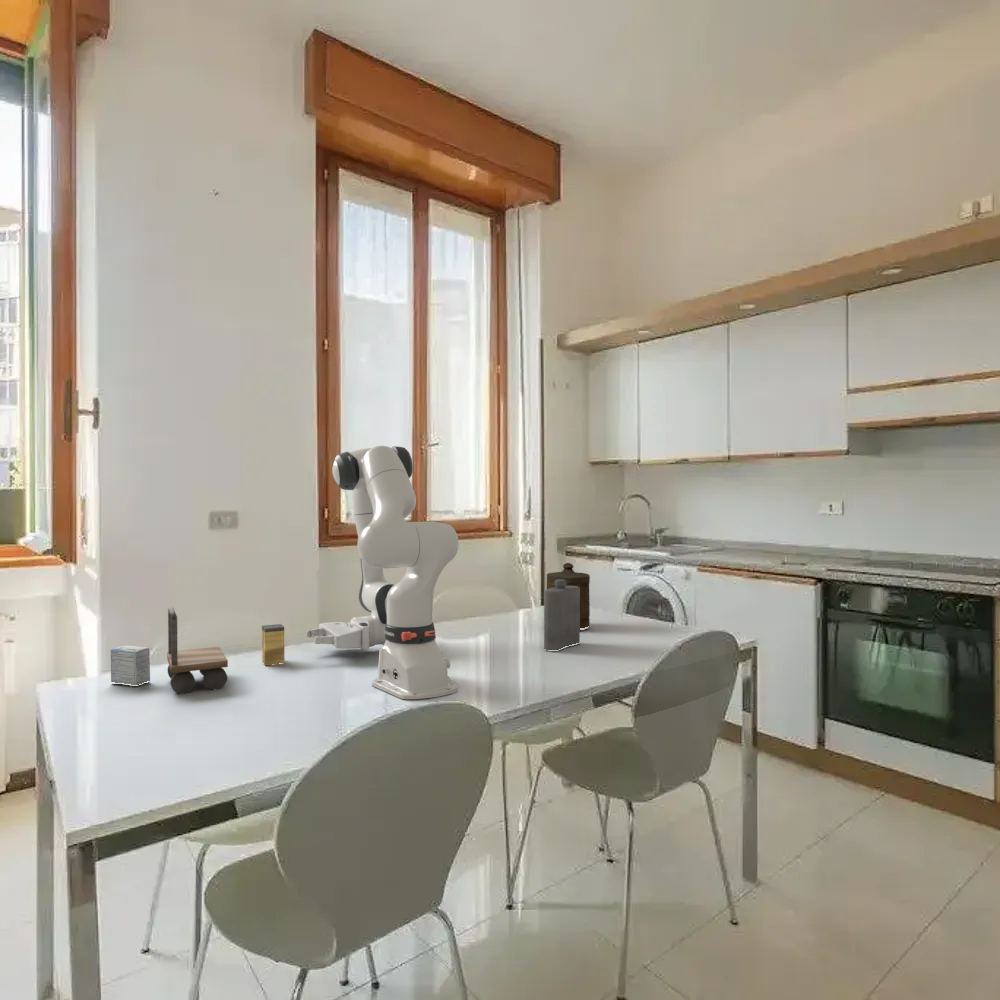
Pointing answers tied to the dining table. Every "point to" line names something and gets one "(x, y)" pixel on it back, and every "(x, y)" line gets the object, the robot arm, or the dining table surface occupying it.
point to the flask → (561, 616)
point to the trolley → (193, 662)
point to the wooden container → (574, 580)
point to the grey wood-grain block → (130, 665)
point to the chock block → (272, 644)
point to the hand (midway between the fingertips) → (310, 637)
